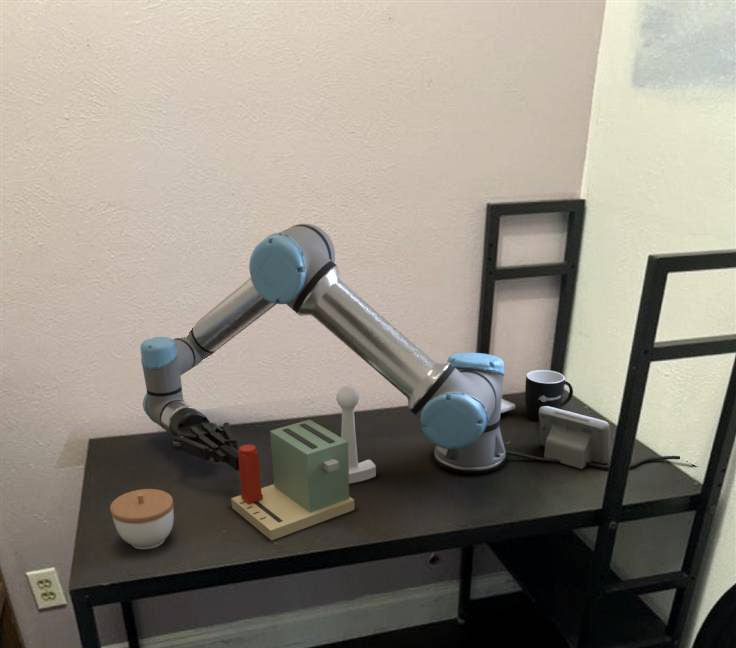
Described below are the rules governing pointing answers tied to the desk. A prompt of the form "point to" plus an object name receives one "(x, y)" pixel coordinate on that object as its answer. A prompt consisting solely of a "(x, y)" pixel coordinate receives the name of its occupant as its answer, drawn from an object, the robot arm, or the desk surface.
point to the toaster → (301, 481)
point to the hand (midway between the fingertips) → (239, 463)
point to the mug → (544, 391)
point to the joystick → (353, 436)
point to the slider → (249, 474)
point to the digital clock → (574, 437)
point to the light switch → (506, 406)
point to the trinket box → (143, 517)
